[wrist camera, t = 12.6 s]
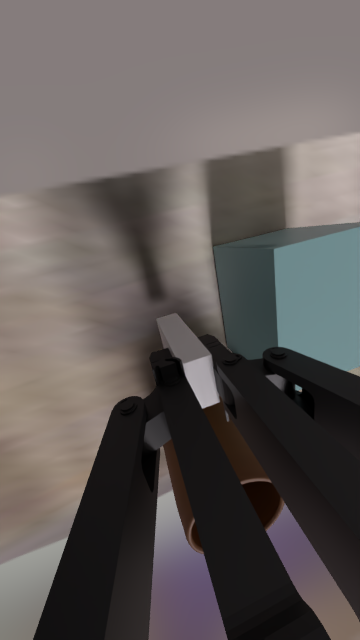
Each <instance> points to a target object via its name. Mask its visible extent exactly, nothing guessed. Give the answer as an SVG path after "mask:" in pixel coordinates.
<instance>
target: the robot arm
mask: <svg viewBox="0 0 360 640" xmlns="http://www.w3.org/2000/svg"><path fill="white" fill-rule="evenodd" d="M156 321H157V324H158V328H159V332H160V336H161V339H162V343H163V347H164V349H162V350H159V351H155V352H152V353H151V356H150V362H151V365H152V371H153V375H154V378H155V381H156V388H155V390H154V391H153V392H152V393H151V394H150V395H149V396H148V397H146V398H145V399H142V398H141V397H138V396H131V397H128V398H125V399H123V400H121V401H120V402H118V403H117V404H116V405H115V406H114V408H113V410H112V412H111V415H110V418H109V421H108V424H107V427H106V429H105V432H104V435H103V438H102V441H101V444H100V447H99V450H98V453H97V456H96V458H95V461H94V464H93V467H92V470H91V473H90V476H89V479H88V482H87V485H86V487H85V490H84V493H83V496H82V499H81V502H80V505H79V508H78V511H77V514H76V516H75V519H74V522H73V525H72V528H71V531H70V534H69V537H68V540H67V543H66V546H65V549H64V551H63V554H62V557H61V560H60V563H59V566H58V569H57V572H56V574H55V577H54V580H53V583H52V586H51V589H50V592H49V595H48V598H47V601H46V604H45V606H44V610H43V612H42V615H41V618H40V621H39V624H38V627H37V630H36V633H35V635H34V638H33V640H148V637H149V636H148V635H149V620H150V605H151V589H152V573H153V557H154V540H155V524H156V509H157V493H158V477H159V461H160V447H161V446H163V445H164V444H165V443H167V442H168V441H169V440H171V439H172V442H173V445H174V449H175V452H176V456H177V459H178V463H179V467H180V470H181V474H182V477H183V481H184V484H185V488H186V492H187V495H188V499H189V502H190V506H191V509H192V513H193V517H194V520H195V524H196V527H197V531H198V534H199V538H200V542H201V545H202V549H203V552H204V556H205V559H206V563H207V566H208V570H209V573H210V577H211V581H212V584H213V587H214V591H215V595H216V599H217V602H218V605H219V609H220V613H221V617H222V620H223V624H224V627H225V631H226V634H227V638H228V640H331V639H330V637H329V635H328V634H327V632H326V630H325V629H324V627H323V625H322V623H321V622H320V620H319V619H318V617H317V616H316V614H315V613H314V611H313V610H312V609H311V608H310V607H309V606H308V605H307V604H306V603H305V601H303V599H302V598H301V596H300V595H299V593H298V592H297V590H296V588H295V586H294V585H293V583H292V581H291V579H290V577H289V575H288V573H287V571H286V570H285V567H284V565H283V564H282V562H281V560H280V558H279V556H278V554H277V552H276V550H275V548H274V546H273V544H272V542H271V540H270V538H269V536H268V535H267V533H266V531H265V529H264V527H263V525H262V523H261V521H260V519H259V517H258V515H257V513H256V511H255V509H254V507H253V506H252V504H251V502H250V500H249V498H248V496H247V494H246V492H245V490H244V488H243V486H242V484H241V482H240V480H239V478H238V477H237V475H236V473H235V471H234V469H233V467H232V465H231V463H230V461H229V459H228V457H227V455H226V453H225V451H224V449H223V448H222V446H221V444H220V442H219V440H218V438H217V436H216V434H215V432H214V430H213V428H212V426H211V424H210V422H209V420H208V419H207V417H206V415H205V413H204V411H203V408H206V407H208V406H211V405H214V404H216V403H219V402H220V399H219V395H220V396H221V398H222V399H223V405H224V411H225V416H226V420H227V422H228V421H229V417H230V418H231V420H232V421H233V423H234V424H235V426H236V427H237V429H238V431H239V432H240V434H241V435H242V437H243V438H244V440H245V442H246V443H247V445H248V446H249V448H250V449H251V451H252V452H253V454H254V456H255V457H256V459H257V460H258V462H259V463H260V465H261V466H262V468H263V470H264V471H265V473H266V474H267V476H268V477H269V479H270V480H271V482H272V484H273V485H274V487H275V488H276V490H277V491H278V493H279V495H280V496H281V498H282V499H283V501H284V502H285V504H286V505H287V507H288V509H289V510H290V512H291V513H292V515H293V516H294V518H295V519H296V521H297V522H298V524H299V526H300V527H301V529H302V530H303V532H304V533H305V535H306V537H307V538H308V540H309V541H310V543H311V544H312V546H313V548H314V549H315V551H316V552H317V554H318V555H319V557H320V558H321V560H322V561H323V563H324V564H325V566H326V568H327V569H328V571H329V572H330V574H331V576H332V577H333V579H334V580H335V581H336V583H337V585H338V587H339V588H340V590H341V591H342V593H343V594H344V596H345V597H346V599H347V601H348V602H349V604H350V605H351V607H352V609H353V610H354V612H355V614H356V615H357V617H358V619H359V621H360V377H359V376H357V375H354V374H351V373H349V372H346V371H344V370H341V369H339V368H336V367H334V366H331V365H329V364H326V363H324V362H321V361H318V360H316V359H313V358H311V357H308V356H306V355H303V354H301V353H298V352H296V351H293V350H291V349H288V348H284V347H271V348H268V349H266V350H265V351H264V352H263V354H262V356H263V358H261V359H253V360H247V359H246V358H245V357H244V356H242V355H240V354H237V353H231V352H230V351H229V350H228V349H227V348H226V347H224V346H223V345H222V344H221V343H220V342H219V341H218V340H217V339H216V338H215V337H214V336H211V335H204V336H201V337H198V338H197V337H196V336H195V334H194V333H193V332H192V331H191V330H190V328H189V327H188V326H187V325H186V324H185V323H184V321H183V320H182V319H181V318H180V317H179V315H178V314H177V313H173V314H170V315H166V316H163V317H159V318H156ZM295 384H296V385H297V386H299V387H301V388H302V392H299V391H297V390H295ZM228 416H229V417H228Z"/></svg>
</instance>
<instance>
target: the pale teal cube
mask: <svg viewBox="0 0 360 640" xmlns="http://www.w3.org/2000/svg"><path fill="white" fill-rule="evenodd" d="M213 250H214V257H215V264H216V271H217V278H218V285H219V292H220V299H221V306H222V313H223V320H224V327H225V334H226V341H227V347H228V348H229V349H230V350H231V351H232V352H233V353H237V354H240V355H242V356H244V357H245V358H246V359H247V360H253V359H261V358H263V356H262V354H263V352H264V351H265V350H266V349H268V348H271V347H284V348H288V349H291V350H293V351H296V352H298V353H301V354H303V355H306V356H308V357H311V358H313V359H316V360H318V361H321V362H324V363H326V364H329V365H331V366H334V367H336V368H339V369H341V370H344V371H349V370H351V369H354V368H356V367H359V366H360V222H357V223H345V224H334V225H322V226H310V227H298V228H287V229H283V230H279V231H275V232H271V233H267V234H263V235H259V236H255V237H250V238H246V239H242V240H238V241H234V242H230V243H226V244H222V245H218V246H214V247H213ZM300 389H302V388H301V387H299V386H297V385H296V384H295V390H297V391H298V390H300Z"/></svg>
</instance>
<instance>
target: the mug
mask: <svg viewBox="0 0 360 640" xmlns="http://www.w3.org/2000/svg"><path fill="white" fill-rule="evenodd" d="M219 399H220V402H219V403H216V404H214V405H211V406H208V407H206V408H203V411H204V413H205V415H206V417H207V419H208V420H209V422H210V424H211V426H212V428H213V430H214V432H215V434H216V436H217V438H218V440H219V442H220V444H221V446H222V448H223V449H224V451H225V453H226V455H227V457H228V459H229V461H230V463H231V465H232V467H233V469H234V471H235V473H236V475H237V477H238V478H239V480H240V482H241V484H242V486H243V488H244V490H245V492H246V494H247V496H248V498H249V500H250V502H251V504H252V506H253V507H254V509H255V511H256V513H257V515H258V517H259V519H260V521H261V523H262V525H263V527H264V529H265V531H267V530H268V529H269V528H270V527H271V525H272V524H273V523H274V522H275V521H276V519H277V518H278V516H279V515H280V513H281V511H282V509H283V506H284V503H285V502H284V501H283V499H282V498H281V496H280V495H279V493H278V491H277V490H276V488H275V487H274V485H273V484H272V482H271V480H270V479H269V477H268V476H267V474H266V473H265V471H264V470H263V468H262V466H261V465H260V463H259V462H258V460H257V459H256V457H255V456H254V454H253V452H252V451H251V449H250V448H249V446H248V445H247V443H246V442H245V440H244V438H243V437H242V435H241V434H240V432H239V431H238V429H237V427H236V426H235V424H234V423H233V421H232V420H231V418H230V417H229V416H228V417H229V421H228V422H227V420H226V416H225V411H224V405H223V399H222V398H221V396H220V395H219ZM163 447H164V451H165V456H166V461H167V465H168V470H169V474H170V478H171V483H172V487H173V492H174V496H175V500H176V505H177V508H178V512H179V516H180V519H181V522H182V525H183V528H184V532H185V535H186V539H187V541H188V543H189V545H190V546H191V547H192V548H193V549H194V550H195V551H196V552H199V553H201V554H204V552H203V549H202V545H201V542H200V538H199V534H198V531H197V527H196V524H195V520H194V517H193V513H192V509H191V506H190V502H189V499H188V495H187V492H186V488H185V484H184V481H183V477H182V474H181V470H180V467H179V463H178V459H177V456H176V452H175V449H174V445H173V442H172V439H171V440H169V441H168V442H167V443H165V444H164V445H163Z"/></svg>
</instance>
